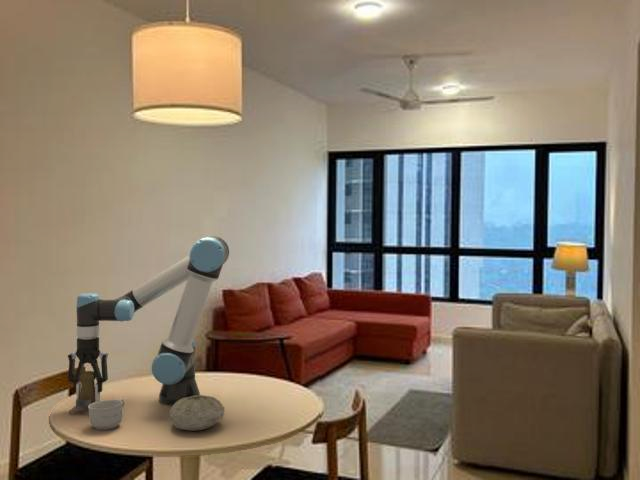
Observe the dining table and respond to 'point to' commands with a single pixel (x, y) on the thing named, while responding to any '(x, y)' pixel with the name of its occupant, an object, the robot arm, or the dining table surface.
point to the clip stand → (81, 406)
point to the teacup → (106, 413)
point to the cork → (88, 386)
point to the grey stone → (196, 412)
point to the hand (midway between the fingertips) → (88, 400)
